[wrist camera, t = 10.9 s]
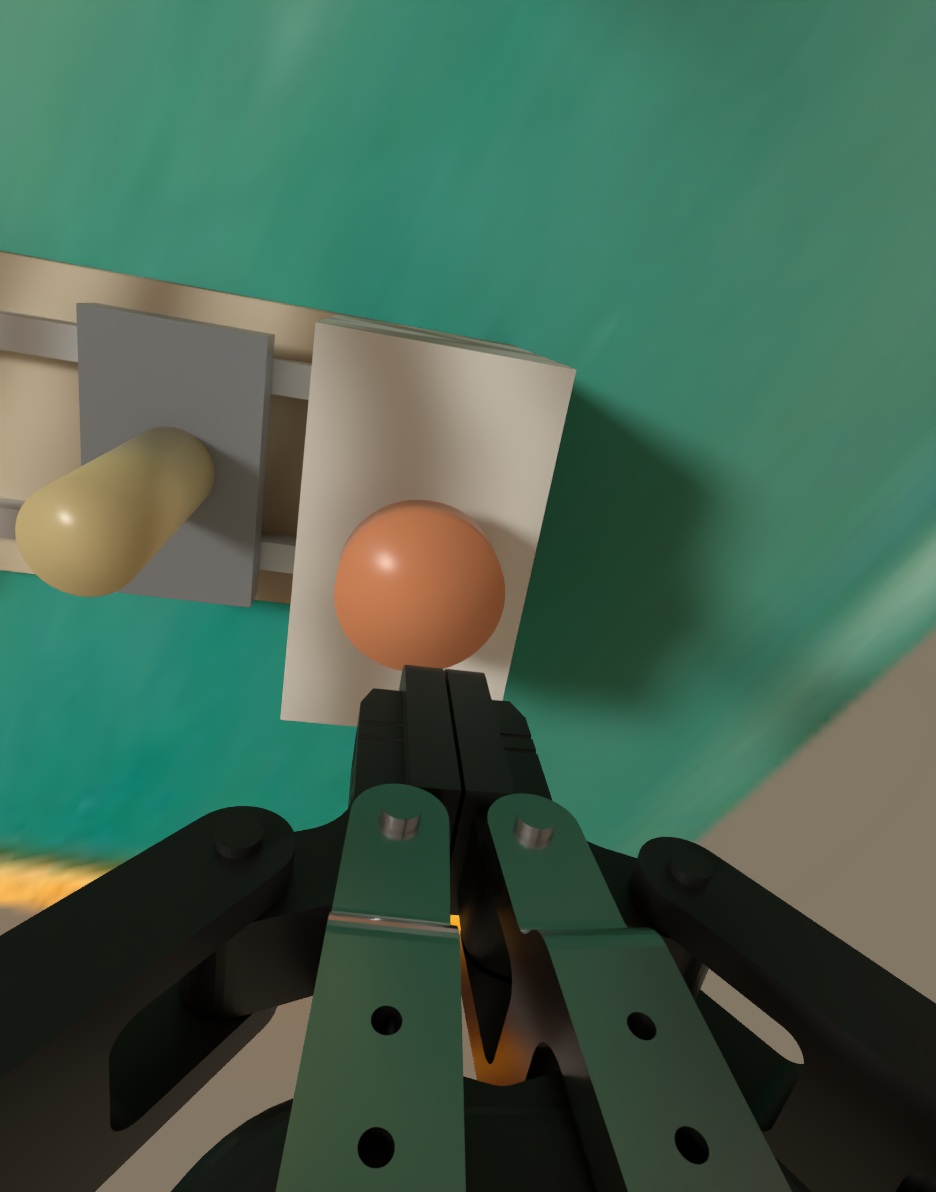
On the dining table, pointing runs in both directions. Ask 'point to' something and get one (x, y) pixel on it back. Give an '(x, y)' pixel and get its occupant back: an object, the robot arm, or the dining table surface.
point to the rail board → (59, 384)
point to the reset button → (418, 586)
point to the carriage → (159, 463)
